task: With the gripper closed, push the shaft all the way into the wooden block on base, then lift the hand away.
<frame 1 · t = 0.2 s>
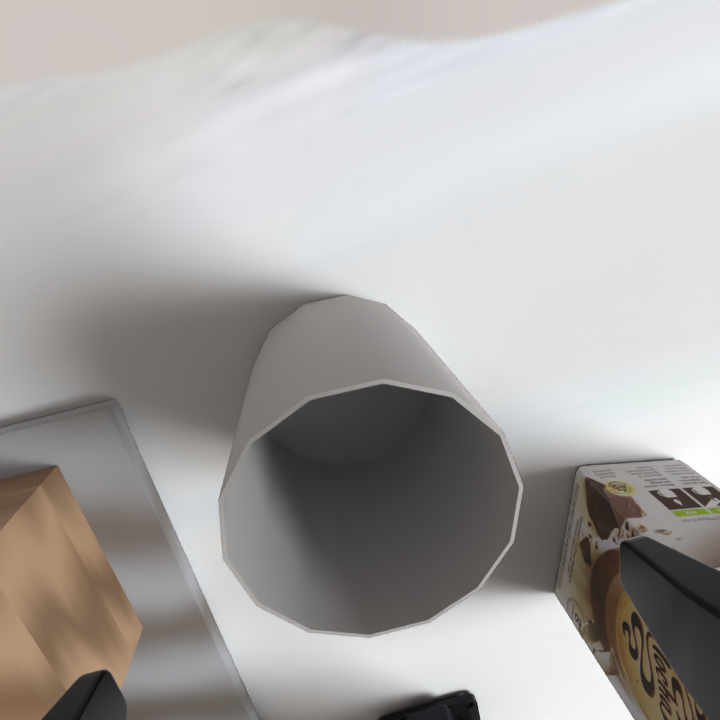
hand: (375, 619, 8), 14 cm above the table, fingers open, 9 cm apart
cup: (342, 381, 23), on the table
coffee box: (610, 527, 28), on the table
wooden block on base: (10, 564, 23), on the table
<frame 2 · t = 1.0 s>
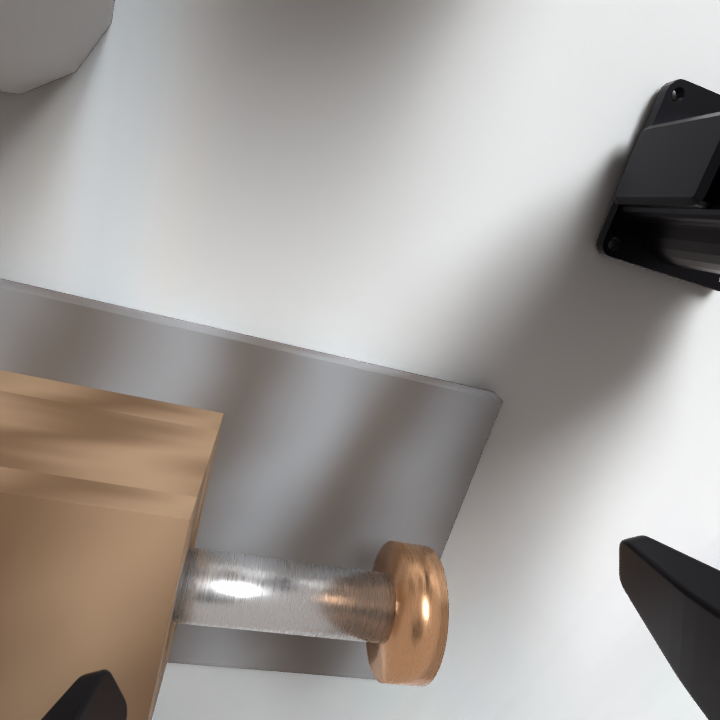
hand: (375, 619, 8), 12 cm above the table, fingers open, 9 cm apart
shaft: (246, 591, 17), point 4 cm above the table, slide at 7.0 cm
wooden block on base: (81, 486, 20), on the table
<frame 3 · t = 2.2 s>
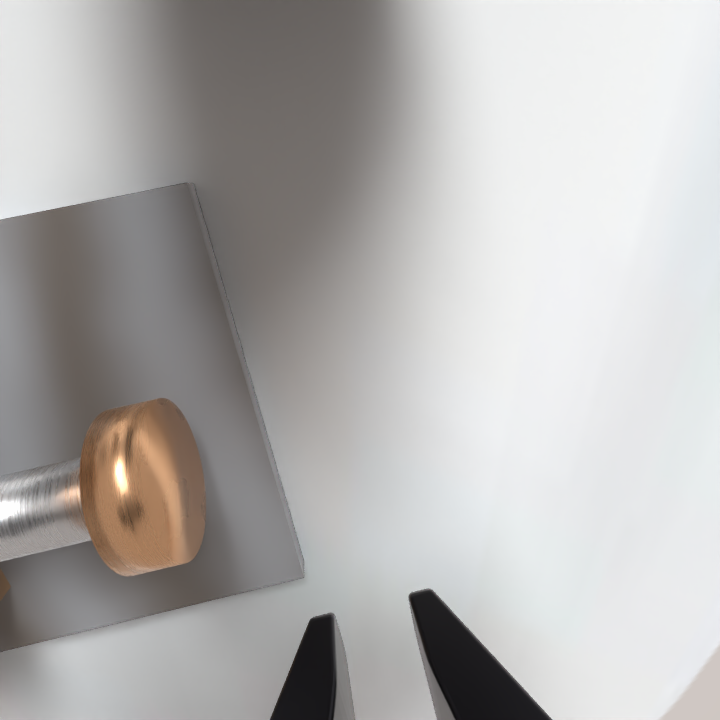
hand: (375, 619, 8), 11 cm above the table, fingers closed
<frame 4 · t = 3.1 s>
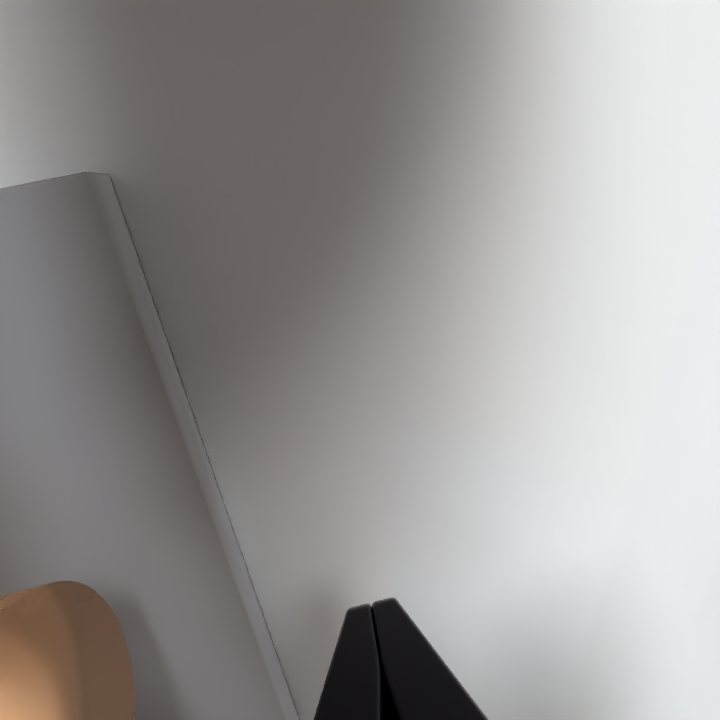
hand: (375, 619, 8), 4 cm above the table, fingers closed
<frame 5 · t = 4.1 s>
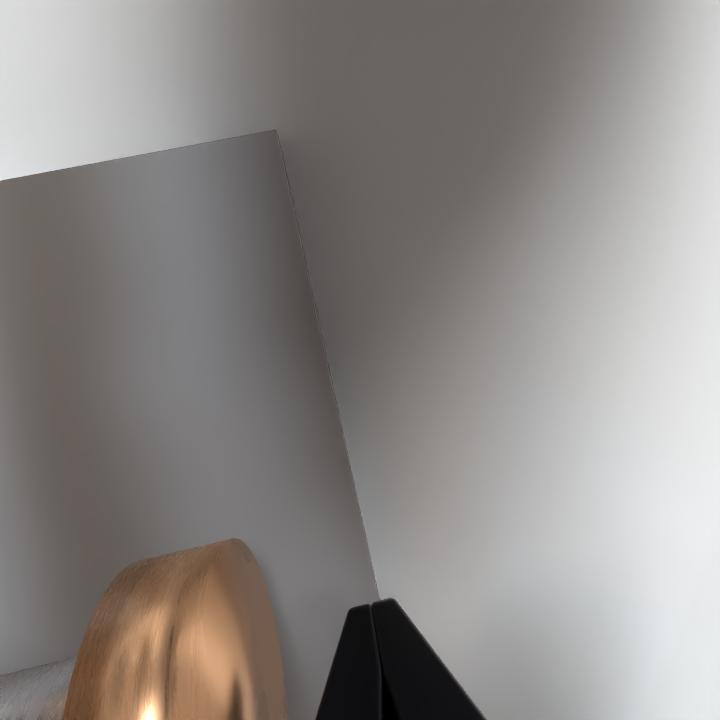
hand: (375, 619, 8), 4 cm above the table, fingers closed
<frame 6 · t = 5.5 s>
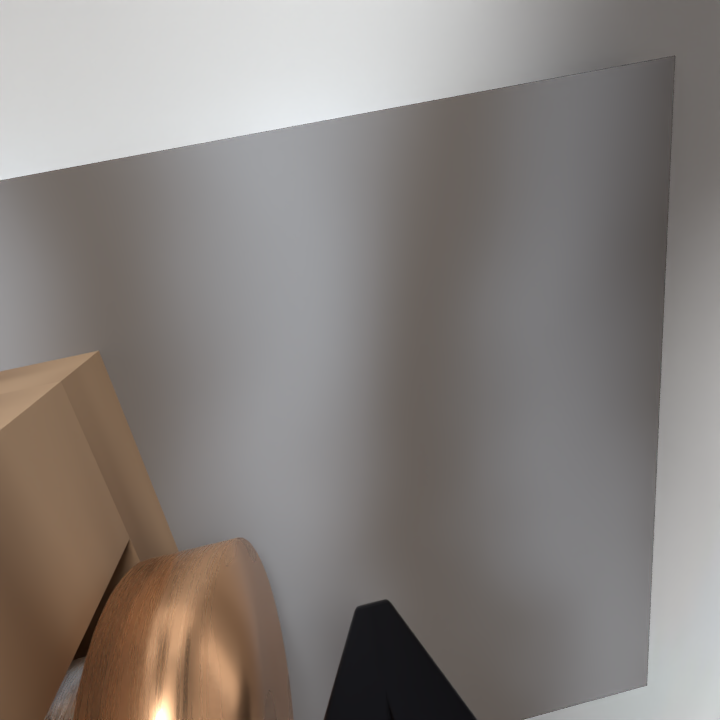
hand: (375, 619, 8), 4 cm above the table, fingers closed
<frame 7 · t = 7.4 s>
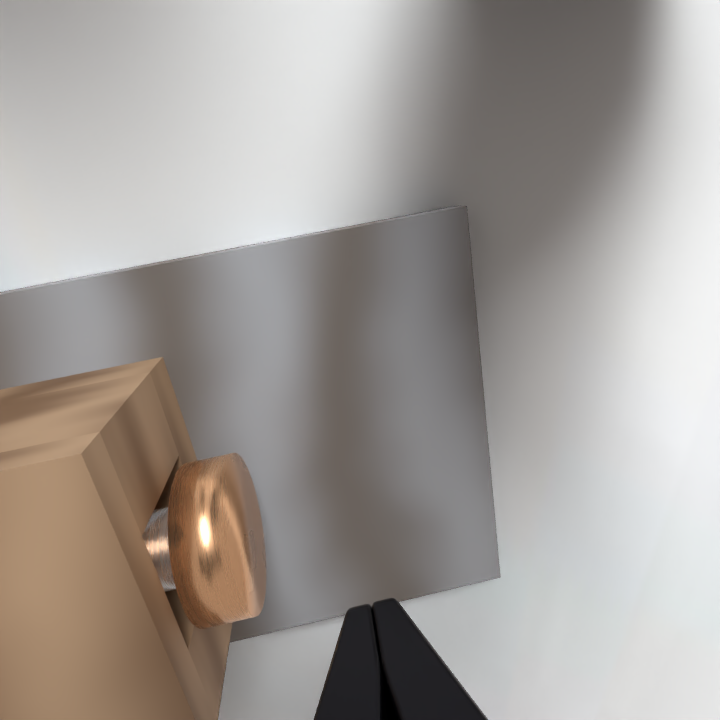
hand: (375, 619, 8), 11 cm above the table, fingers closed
shaft: (23, 580, 14), point 4 cm above the table, slide at 0.0 cm
wooden block on base: (80, 494, 18), on the table
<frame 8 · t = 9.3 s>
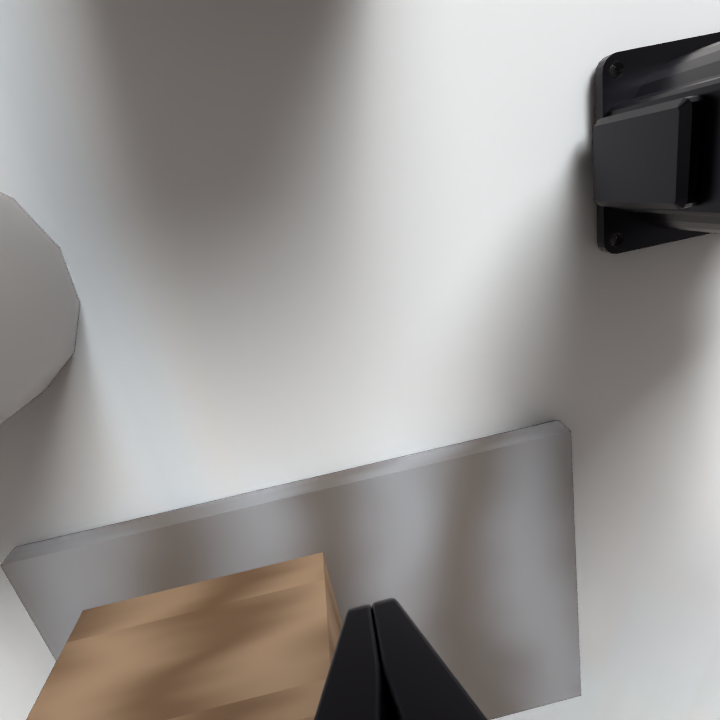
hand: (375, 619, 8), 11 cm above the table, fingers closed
wooden block on base: (240, 645, 22), on the table
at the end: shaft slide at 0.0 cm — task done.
